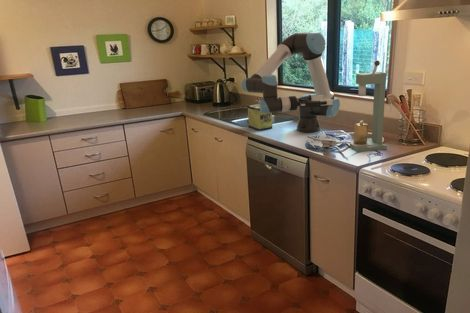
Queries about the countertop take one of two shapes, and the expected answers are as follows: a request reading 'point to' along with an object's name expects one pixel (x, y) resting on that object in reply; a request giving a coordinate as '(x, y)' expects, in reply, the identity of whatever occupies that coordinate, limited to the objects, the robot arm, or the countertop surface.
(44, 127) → the countertop surface
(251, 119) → the protein box
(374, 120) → the arbor press
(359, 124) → the housing
